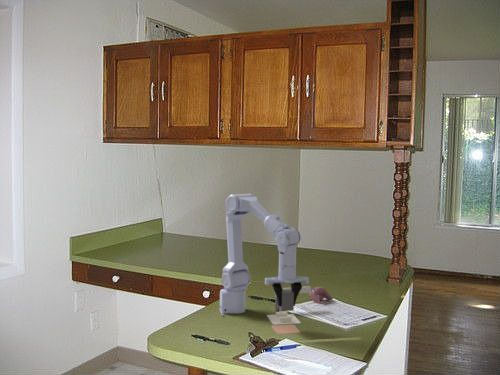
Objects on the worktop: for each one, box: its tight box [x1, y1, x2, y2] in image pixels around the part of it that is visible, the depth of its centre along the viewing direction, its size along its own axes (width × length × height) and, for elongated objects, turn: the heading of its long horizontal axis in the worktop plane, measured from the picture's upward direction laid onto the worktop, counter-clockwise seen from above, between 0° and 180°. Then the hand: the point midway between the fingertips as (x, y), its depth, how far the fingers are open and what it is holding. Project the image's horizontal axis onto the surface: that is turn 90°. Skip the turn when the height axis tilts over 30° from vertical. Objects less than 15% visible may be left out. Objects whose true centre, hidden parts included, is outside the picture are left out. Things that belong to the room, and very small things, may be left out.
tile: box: [271, 324, 301, 335], centre depth 173 cm, size 8×8×1 cm
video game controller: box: [308, 286, 333, 305], centre depth 207 cm, size 10×5×7 cm, turn 142°
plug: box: [279, 289, 295, 312], centre depth 172 cm, size 4×4×6 cm
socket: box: [266, 296, 302, 326], centre depth 185 cm, size 10×14×7 cm
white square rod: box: [274, 285, 312, 296], centre depth 192 cm, size 2×14×2 cm, turn 108°
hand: (286, 305), depth 172 cm, fingers closed on plug, 4 cm apart
